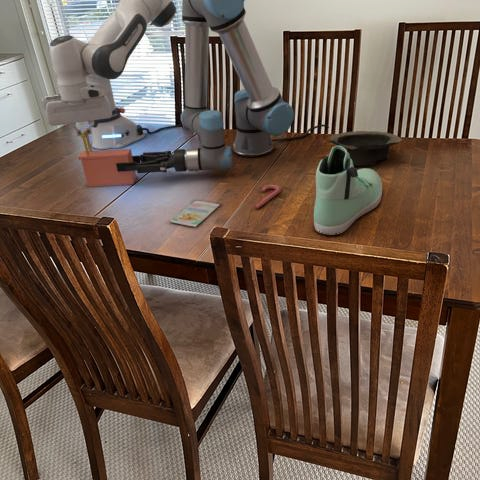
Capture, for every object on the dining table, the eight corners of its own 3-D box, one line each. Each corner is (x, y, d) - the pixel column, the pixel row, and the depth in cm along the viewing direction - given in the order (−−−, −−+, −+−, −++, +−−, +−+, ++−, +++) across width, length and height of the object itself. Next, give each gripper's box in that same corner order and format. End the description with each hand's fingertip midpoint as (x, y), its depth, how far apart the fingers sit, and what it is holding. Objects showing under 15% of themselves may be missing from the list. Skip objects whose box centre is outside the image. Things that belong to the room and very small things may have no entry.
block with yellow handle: (78, 159, 160) (72, 135, 156) (83, 153, 165) (77, 130, 160) (127, 157, 159) (123, 132, 155) (131, 151, 164) (126, 127, 160)
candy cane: (241, 205, 145) (241, 201, 144) (268, 186, 155) (268, 182, 154) (258, 210, 142) (258, 205, 141) (284, 190, 152) (284, 185, 151)
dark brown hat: (359, 176, 156) (359, 149, 151) (314, 159, 176) (313, 134, 172) (416, 158, 164) (418, 131, 160) (367, 143, 185) (368, 119, 180)
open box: (87, 186, 165) (80, 160, 160) (92, 180, 170) (85, 154, 165) (133, 184, 165) (127, 157, 159) (136, 177, 169) (131, 151, 164)
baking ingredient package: (169, 220, 138) (195, 199, 150) (169, 222, 139) (195, 200, 150) (195, 225, 135) (220, 203, 146) (195, 227, 135) (220, 205, 147)
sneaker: (389, 187, 148) (396, 123, 138) (356, 242, 123) (361, 168, 112) (346, 181, 154) (350, 119, 144) (306, 232, 129) (307, 161, 118)
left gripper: (39, 99, 147) (51, 142, 154) (106, 90, 150) (115, 133, 157) (41, 94, 152) (53, 136, 159) (106, 85, 156) (115, 127, 163)
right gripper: (184, 181, 156) (114, 185, 158) (190, 160, 172) (127, 163, 173) (181, 160, 153) (110, 164, 154) (188, 140, 168) (123, 144, 169)
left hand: (84, 134), depth 158 cm, fingers closed on block with yellow handle, 2 cm apart
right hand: (119, 164), depth 164 cm, fingers closed on open box, 5 cm apart
